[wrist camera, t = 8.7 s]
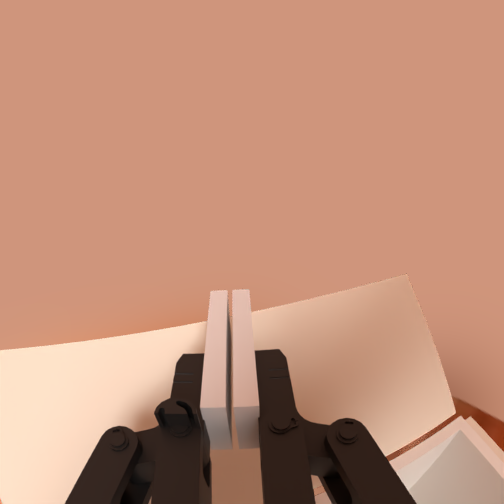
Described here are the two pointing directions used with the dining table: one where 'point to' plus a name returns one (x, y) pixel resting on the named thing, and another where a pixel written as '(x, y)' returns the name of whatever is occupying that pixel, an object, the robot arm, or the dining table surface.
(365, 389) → the front flap
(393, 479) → the robot arm
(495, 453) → the carton
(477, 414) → the dining table surface
